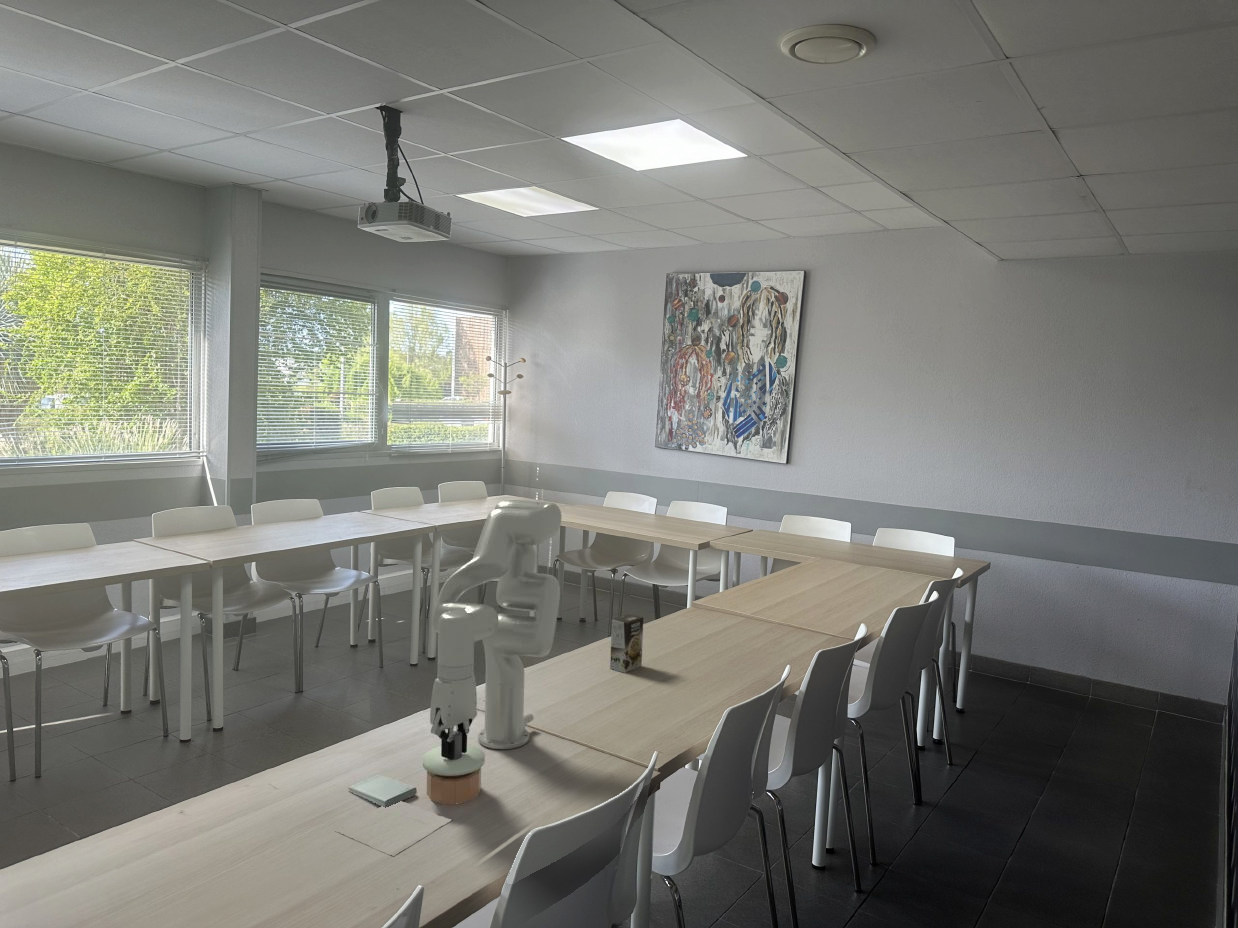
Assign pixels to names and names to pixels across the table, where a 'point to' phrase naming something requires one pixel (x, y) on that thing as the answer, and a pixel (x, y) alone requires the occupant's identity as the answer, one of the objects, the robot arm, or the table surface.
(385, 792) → the hard drive
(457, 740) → the lid
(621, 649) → the coffee box
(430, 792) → the bowl
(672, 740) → the table surface
